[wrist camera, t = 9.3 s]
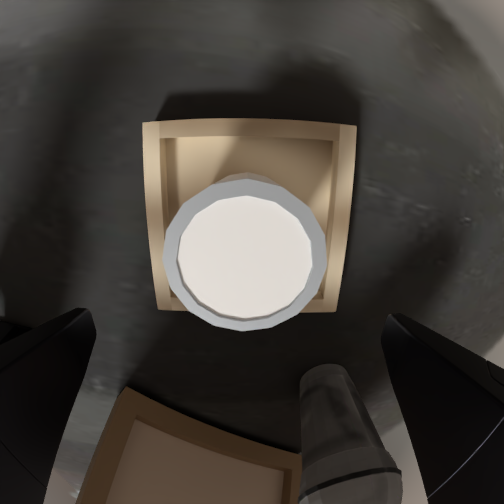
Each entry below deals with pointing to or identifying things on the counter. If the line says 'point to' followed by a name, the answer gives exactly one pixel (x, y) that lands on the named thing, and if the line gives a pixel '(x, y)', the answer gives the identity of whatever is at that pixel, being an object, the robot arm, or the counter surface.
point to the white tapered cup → (244, 253)
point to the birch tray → (258, 162)
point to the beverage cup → (341, 444)
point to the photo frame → (182, 461)
